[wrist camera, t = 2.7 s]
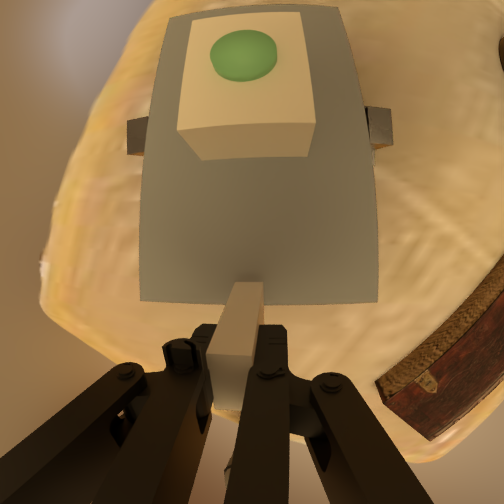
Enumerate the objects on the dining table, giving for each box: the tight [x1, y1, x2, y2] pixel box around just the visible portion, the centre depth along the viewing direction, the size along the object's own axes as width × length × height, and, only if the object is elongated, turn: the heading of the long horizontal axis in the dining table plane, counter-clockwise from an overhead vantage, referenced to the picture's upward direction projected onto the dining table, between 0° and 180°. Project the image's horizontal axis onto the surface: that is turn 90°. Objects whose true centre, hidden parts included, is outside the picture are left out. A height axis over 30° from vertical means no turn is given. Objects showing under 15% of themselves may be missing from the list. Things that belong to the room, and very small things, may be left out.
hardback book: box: [375, 254, 504, 441], centre depth 28 cm, size 29×19×5 cm, turn 136°
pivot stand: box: [127, 106, 393, 166], centre depth 24 cm, size 16×22×7 cm
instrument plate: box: [139, 4, 378, 305], centre depth 16 cm, size 26×16×8 cm, turn 2°
